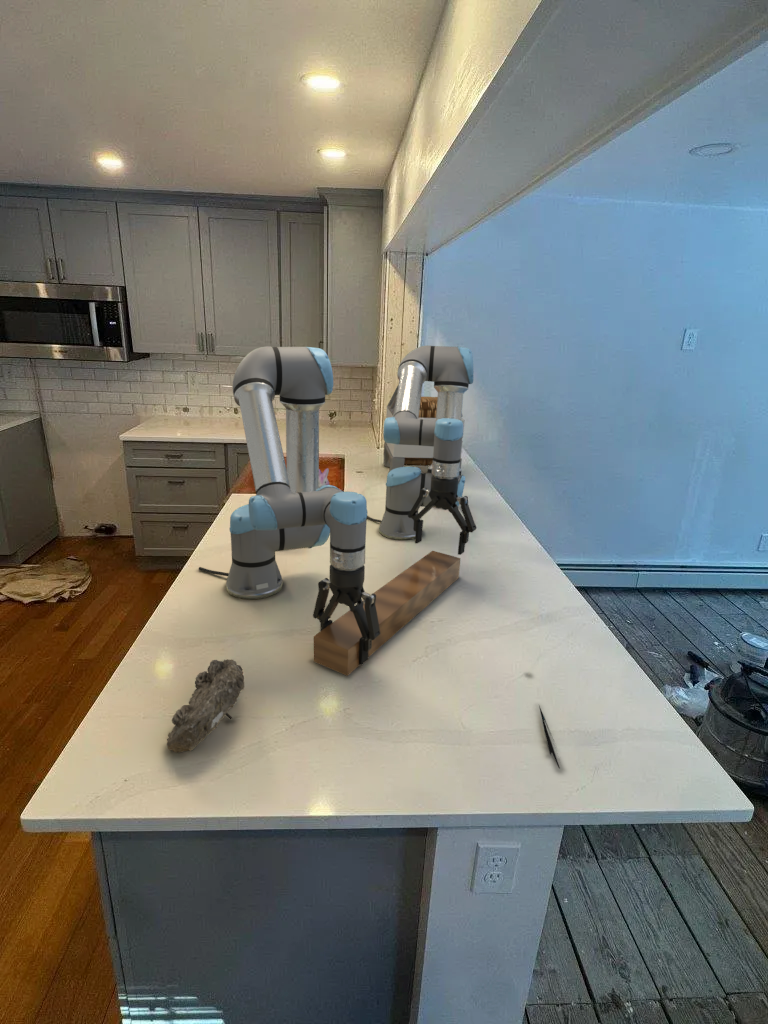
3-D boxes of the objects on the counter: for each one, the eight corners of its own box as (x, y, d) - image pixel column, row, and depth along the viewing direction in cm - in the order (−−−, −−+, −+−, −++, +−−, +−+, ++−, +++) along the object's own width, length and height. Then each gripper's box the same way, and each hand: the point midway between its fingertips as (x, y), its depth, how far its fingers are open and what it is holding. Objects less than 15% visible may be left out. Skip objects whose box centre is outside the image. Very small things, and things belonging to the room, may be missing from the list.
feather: (529, 679, 125) (535, 673, 125) (559, 773, 99) (566, 766, 98) (523, 675, 125) (528, 669, 125) (551, 768, 98) (558, 761, 98)
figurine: (318, 511, 218) (318, 473, 213) (309, 502, 226) (309, 466, 221) (341, 508, 222) (341, 471, 217) (331, 500, 231) (331, 464, 226)
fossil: (192, 660, 117) (244, 628, 112) (224, 691, 120) (276, 661, 115) (142, 746, 98) (202, 712, 93) (182, 779, 101) (242, 748, 96)
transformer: (382, 463, 289) (386, 382, 275) (445, 464, 293) (451, 384, 279) (390, 482, 257) (394, 392, 243) (460, 483, 261) (468, 394, 247)
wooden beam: (431, 570, 173) (432, 550, 171) (458, 578, 169) (460, 558, 167) (313, 661, 126) (313, 636, 124) (347, 676, 122) (348, 649, 120)
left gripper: (295, 557, 123) (296, 646, 131) (381, 585, 113) (377, 679, 120) (317, 546, 129) (316, 631, 137) (400, 571, 119) (395, 662, 126)
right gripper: (398, 470, 158) (395, 541, 165) (482, 487, 146) (474, 562, 153) (411, 465, 165) (407, 534, 171) (493, 481, 153) (485, 553, 159)
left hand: (345, 654), depth 129 cm, fingers closed on wooden beam, 9 cm apart
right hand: (439, 547), depth 162 cm, fingers open, 13 cm apart
